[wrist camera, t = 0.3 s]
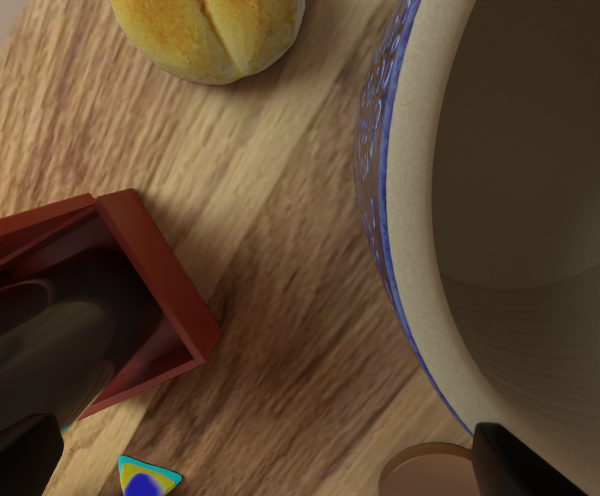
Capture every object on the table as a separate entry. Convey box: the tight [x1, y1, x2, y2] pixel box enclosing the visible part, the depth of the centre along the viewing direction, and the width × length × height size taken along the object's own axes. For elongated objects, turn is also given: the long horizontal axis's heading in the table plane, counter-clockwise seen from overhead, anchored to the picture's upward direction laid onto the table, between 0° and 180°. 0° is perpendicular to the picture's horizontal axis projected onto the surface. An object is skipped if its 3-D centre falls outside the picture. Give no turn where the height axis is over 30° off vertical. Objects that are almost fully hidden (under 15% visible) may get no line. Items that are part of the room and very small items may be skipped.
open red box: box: [0, 188, 223, 422], centre depth 23 cm, size 10×10×4 cm
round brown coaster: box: [378, 443, 480, 496], centre depth 26 cm, size 8×8×1 cm
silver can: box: [0, 248, 162, 436], centre depth 18 cm, size 7×7×12 cm
